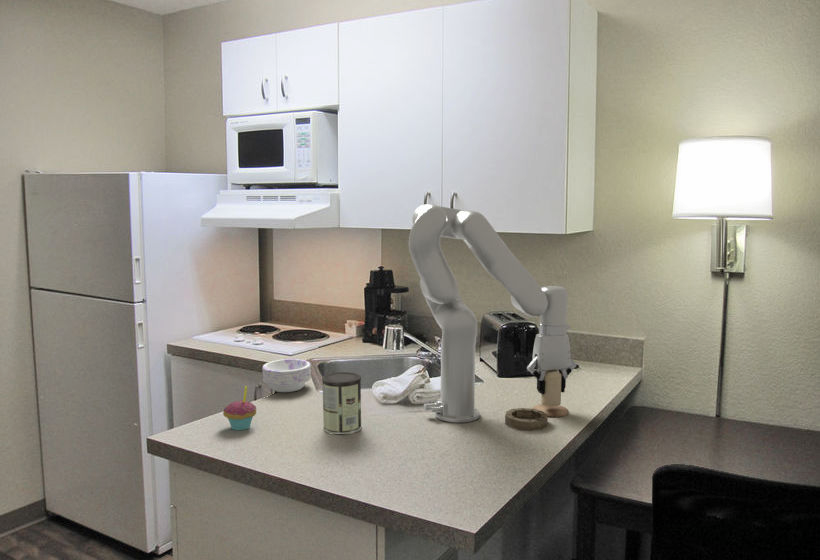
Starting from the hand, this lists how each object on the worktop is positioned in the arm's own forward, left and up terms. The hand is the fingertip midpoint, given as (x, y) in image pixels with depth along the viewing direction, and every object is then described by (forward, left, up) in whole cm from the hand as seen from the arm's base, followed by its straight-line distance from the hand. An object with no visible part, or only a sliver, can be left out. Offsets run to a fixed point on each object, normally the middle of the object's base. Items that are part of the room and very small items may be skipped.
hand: (551, 391), depth 193 cm
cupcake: (-86, +11, -6) cm, 87 cm away
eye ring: (-11, -7, -6) cm, 14 cm away
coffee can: (-60, +3, -6) cm, 60 cm away
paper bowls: (-70, +44, -6) cm, 83 cm away
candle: (0, 0, -4) cm, 4 cm away
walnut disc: (0, 0, -6) cm, 6 cm away
